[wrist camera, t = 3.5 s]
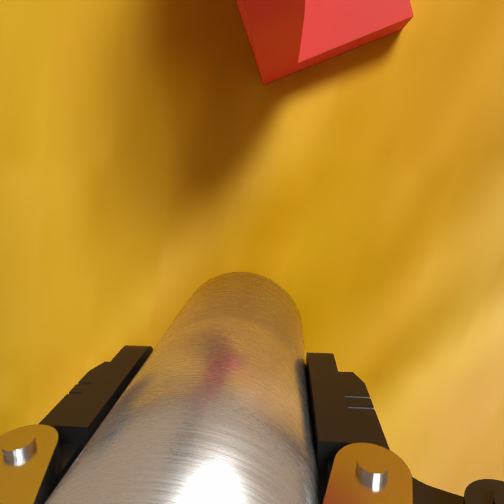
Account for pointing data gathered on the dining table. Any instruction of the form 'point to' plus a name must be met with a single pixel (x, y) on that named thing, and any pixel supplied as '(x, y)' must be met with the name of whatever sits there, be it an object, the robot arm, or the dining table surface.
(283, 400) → the peg
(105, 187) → the dining table surface
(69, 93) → the dining table surface
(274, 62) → the bracket
